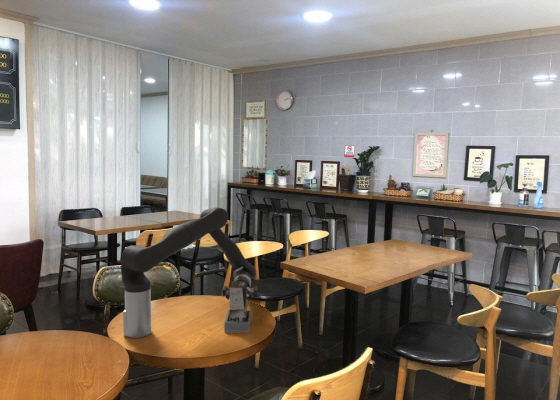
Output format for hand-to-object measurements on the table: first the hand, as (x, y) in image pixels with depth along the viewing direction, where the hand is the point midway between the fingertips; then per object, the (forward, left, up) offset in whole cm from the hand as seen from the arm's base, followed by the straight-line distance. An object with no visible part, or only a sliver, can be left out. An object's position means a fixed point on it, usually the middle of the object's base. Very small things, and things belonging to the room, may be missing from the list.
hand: (238, 297), depth 173 cm
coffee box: (0, 0, -11) cm, 11 cm away
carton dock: (0, -1, -12) cm, 12 cm away
